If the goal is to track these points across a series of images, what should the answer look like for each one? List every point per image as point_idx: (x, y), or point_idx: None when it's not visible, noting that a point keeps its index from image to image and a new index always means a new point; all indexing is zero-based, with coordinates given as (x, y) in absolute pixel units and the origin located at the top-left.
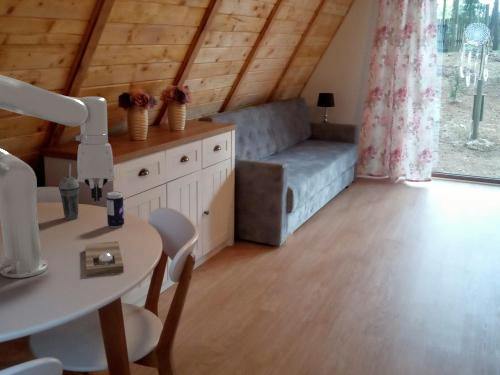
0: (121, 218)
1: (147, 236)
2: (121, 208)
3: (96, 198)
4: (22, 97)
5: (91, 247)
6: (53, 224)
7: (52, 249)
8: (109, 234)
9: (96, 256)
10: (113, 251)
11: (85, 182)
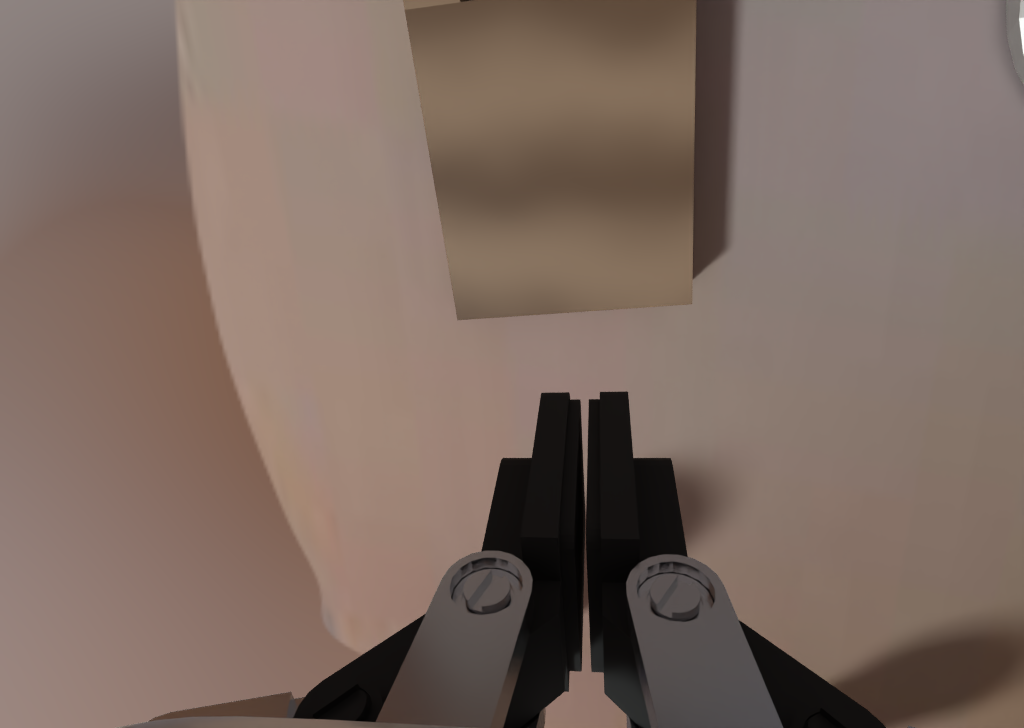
0: None
1: (304, 443)
2: None
3: (589, 419)
4: None
5: (646, 228)
6: (851, 695)
7: (910, 339)
8: None
9: (606, 10)
10: (474, 112)
11: (862, 717)
